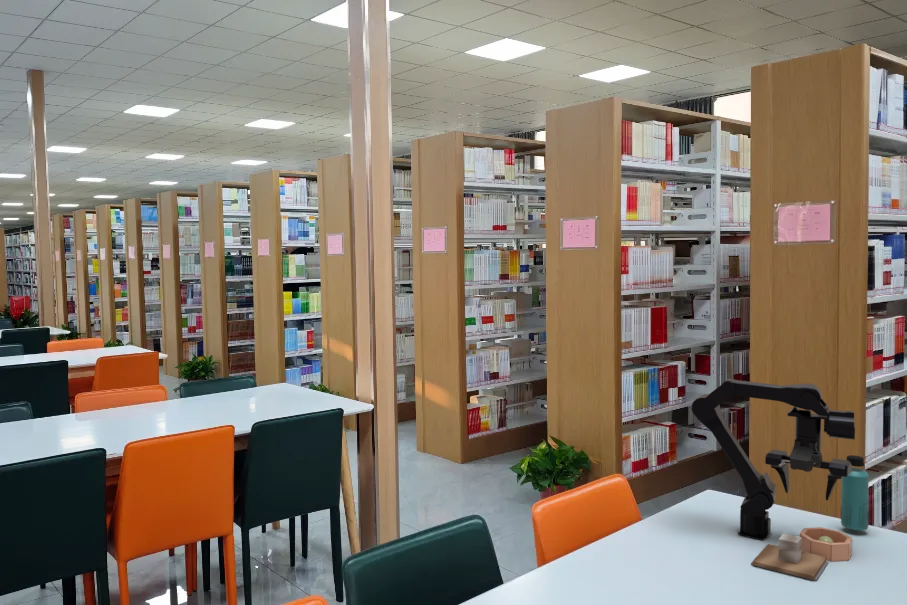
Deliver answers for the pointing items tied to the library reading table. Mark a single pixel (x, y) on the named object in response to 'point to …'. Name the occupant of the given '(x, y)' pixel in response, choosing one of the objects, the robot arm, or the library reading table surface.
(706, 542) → the library reading table surface
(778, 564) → the lid
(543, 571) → the library reading table surface
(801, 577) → the mat
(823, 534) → the bowl
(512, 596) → the library reading table surface
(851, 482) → the beverage bottle
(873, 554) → the library reading table surface
